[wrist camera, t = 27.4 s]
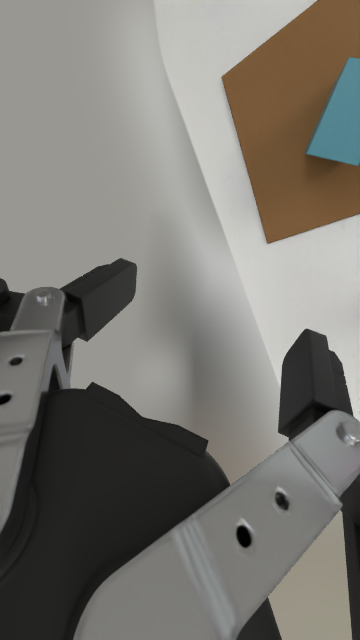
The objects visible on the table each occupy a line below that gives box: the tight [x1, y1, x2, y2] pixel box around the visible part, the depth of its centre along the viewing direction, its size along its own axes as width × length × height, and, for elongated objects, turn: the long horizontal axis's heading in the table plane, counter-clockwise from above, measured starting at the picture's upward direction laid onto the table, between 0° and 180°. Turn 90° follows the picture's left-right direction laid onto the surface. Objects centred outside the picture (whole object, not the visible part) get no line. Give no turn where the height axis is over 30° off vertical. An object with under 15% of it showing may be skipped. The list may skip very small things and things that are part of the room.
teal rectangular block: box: [304, 57, 360, 166], centre depth 21 cm, size 4×6×8 cm
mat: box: [222, 0, 360, 243], centre depth 25 cm, size 20×20×1 cm
